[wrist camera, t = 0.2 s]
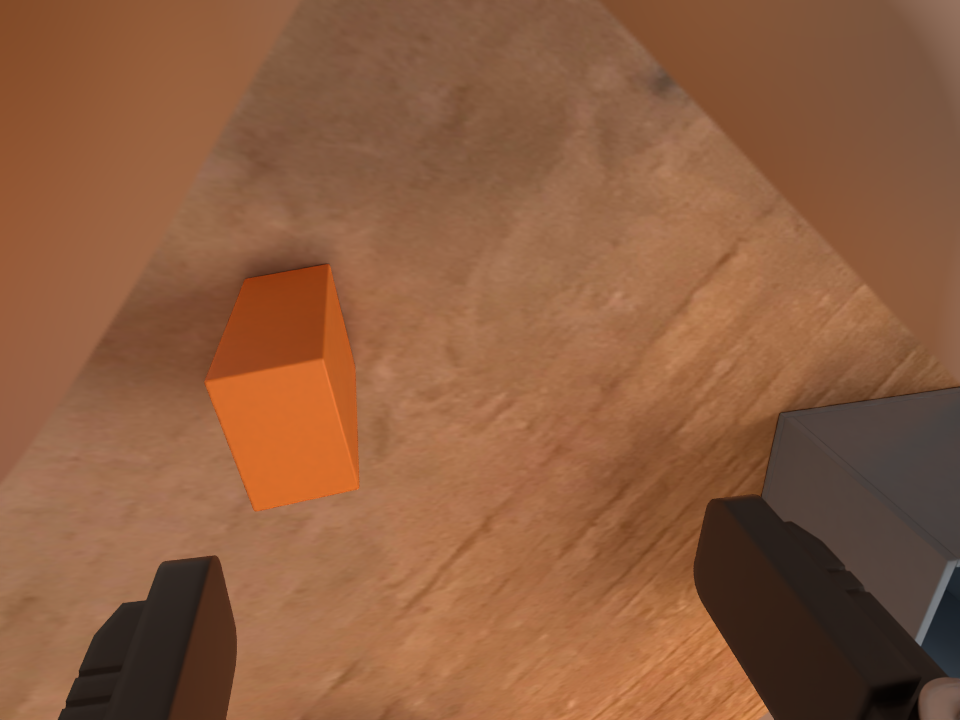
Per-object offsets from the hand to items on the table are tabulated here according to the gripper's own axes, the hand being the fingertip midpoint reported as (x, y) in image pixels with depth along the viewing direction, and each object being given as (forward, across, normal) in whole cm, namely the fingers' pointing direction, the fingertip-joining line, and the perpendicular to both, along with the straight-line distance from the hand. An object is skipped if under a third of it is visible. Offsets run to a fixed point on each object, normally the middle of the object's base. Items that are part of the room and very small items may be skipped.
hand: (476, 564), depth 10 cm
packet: (+19, +4, +4) cm, 20 cm away
